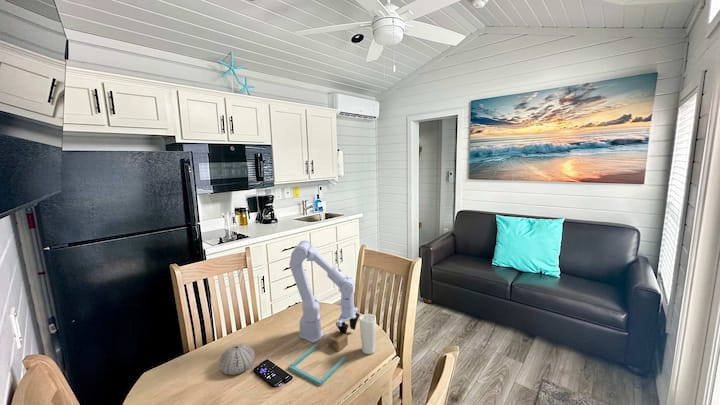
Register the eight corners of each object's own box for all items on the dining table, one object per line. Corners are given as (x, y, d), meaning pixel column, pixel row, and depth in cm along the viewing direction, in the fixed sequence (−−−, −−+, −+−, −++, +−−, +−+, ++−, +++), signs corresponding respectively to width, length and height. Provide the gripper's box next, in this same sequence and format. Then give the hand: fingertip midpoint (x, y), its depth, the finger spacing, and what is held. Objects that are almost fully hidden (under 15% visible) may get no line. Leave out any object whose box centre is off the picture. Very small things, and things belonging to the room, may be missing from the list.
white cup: (375, 357, 119) (374, 323, 117) (359, 355, 120) (358, 321, 118) (377, 346, 126) (377, 314, 123) (362, 344, 127) (361, 312, 125)
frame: (288, 369, 113) (288, 366, 113) (315, 346, 127) (315, 344, 126) (320, 386, 105) (320, 383, 104) (346, 360, 118) (346, 357, 118)
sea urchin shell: (262, 358, 120) (261, 340, 119) (239, 381, 108) (237, 362, 106) (236, 351, 125) (235, 334, 123) (211, 374, 112) (209, 355, 111)
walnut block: (328, 346, 126) (327, 337, 126) (337, 339, 131) (337, 330, 130) (338, 352, 123) (338, 342, 122) (347, 344, 127) (347, 335, 127)
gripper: (345, 315, 123) (346, 344, 125) (363, 300, 135) (364, 327, 137) (332, 310, 127) (333, 339, 129) (351, 296, 139) (351, 323, 141)
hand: (348, 333), depth 133 cm, fingers open, 7 cm apart
